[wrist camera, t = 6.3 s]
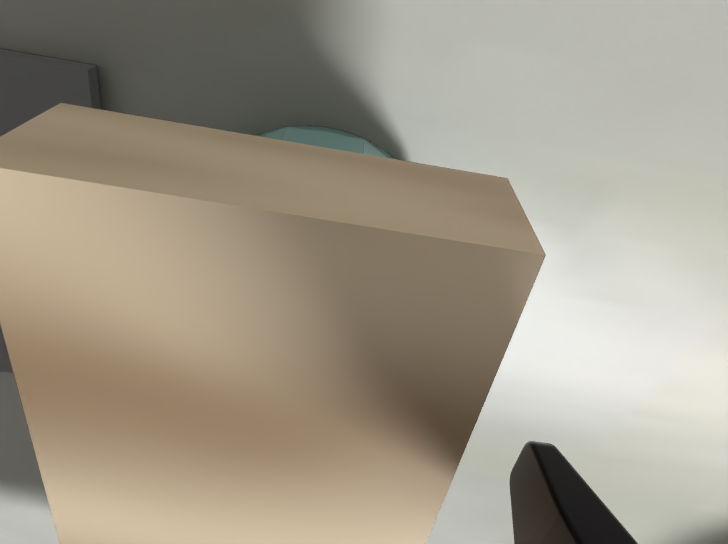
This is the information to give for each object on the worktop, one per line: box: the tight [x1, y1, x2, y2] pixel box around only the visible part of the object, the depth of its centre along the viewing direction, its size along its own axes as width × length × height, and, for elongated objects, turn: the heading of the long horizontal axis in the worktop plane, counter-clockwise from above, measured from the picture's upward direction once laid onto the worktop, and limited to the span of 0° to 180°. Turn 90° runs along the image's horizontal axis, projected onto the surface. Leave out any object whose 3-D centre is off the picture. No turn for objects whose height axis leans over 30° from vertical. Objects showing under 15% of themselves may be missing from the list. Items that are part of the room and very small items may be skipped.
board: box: [0, 103, 546, 544], centre depth 9 cm, size 8×6×2 cm
